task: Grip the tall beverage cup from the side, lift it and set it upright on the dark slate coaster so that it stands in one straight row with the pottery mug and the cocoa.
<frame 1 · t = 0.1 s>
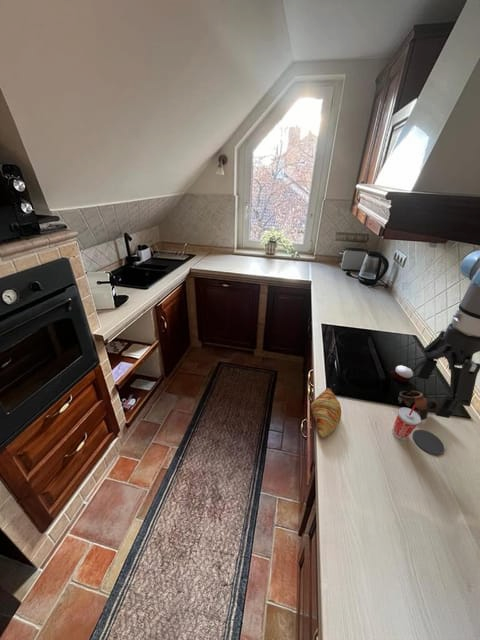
hand: (431, 395, 68), 23 cm above the worktop, tool pointing down, fingers open, 13 cm apart
beverage cup: (399, 433, 84), on the worktop
pottery mug: (414, 410, 92), on the worktop
slate coaster: (427, 442, 81), on the worktop
croissant: (324, 415, 89), on the worktop
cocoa: (401, 380, 105), on the worktop
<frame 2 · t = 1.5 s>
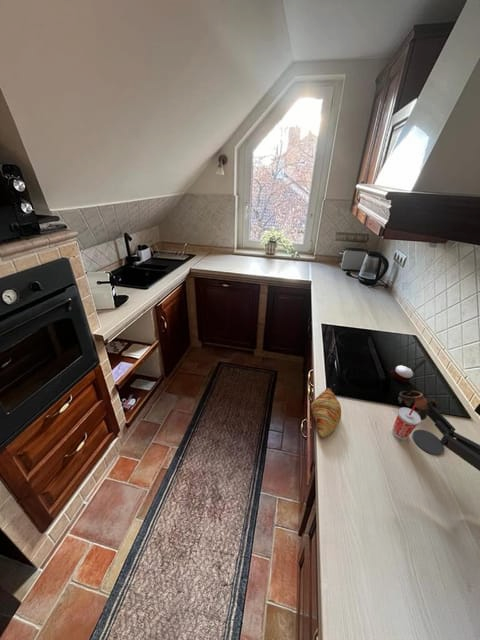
hand: (454, 408, 64), 23 cm above the worktop, tool horizontal, fingers open, 13 cm apart
nothing on the worktop moved.
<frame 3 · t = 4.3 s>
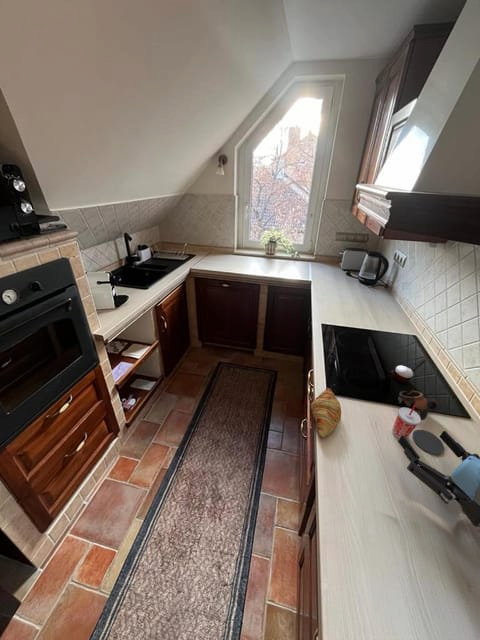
hand: (421, 435, 75), 7 cm above the worktop, tool horizontal, fingers open, 13 cm apart
nothing on the worktop moved.
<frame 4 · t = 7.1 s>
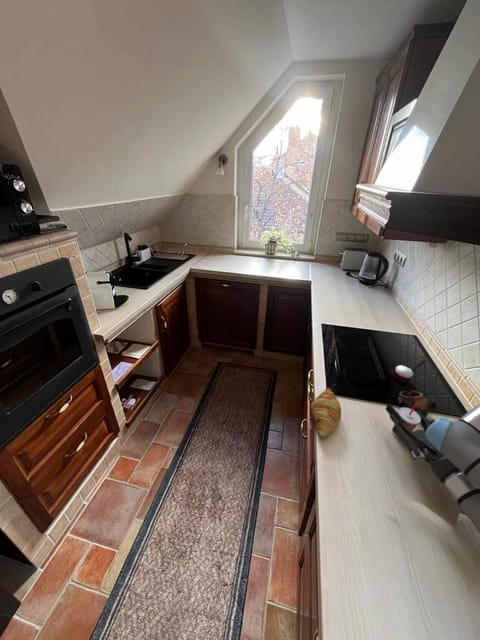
hand: (397, 405, 84), 7 cm above the worktop, tool horizontal, fingers closed on beverage cup, 6 cm apart
beverage cup: (399, 433, 84), on the worktop, touching gripper
everything else where it was.
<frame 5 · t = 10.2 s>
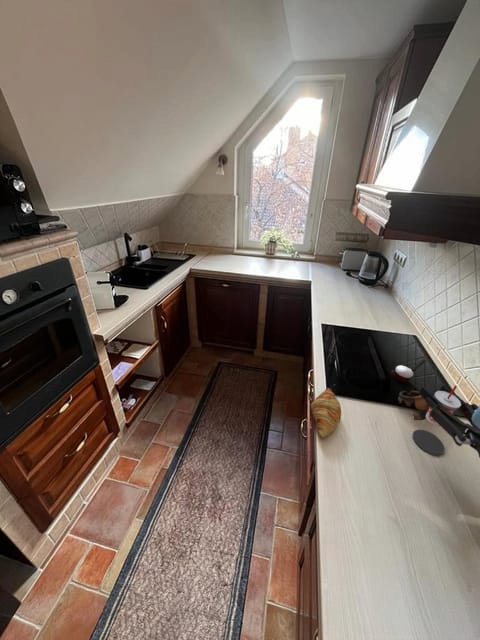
hand: (431, 389, 77), 17 cm above the worktop, tool horizontal, fingers closed on beverage cup, 6 cm apart
beverage cup: (434, 420, 77), point 10 cm above the worktop, touching gripper
everything else where it was.
when the fingers open (8 cm above the worktop, at t = 13.3 s): beverage cup stays where it is, resting on slate coaster.
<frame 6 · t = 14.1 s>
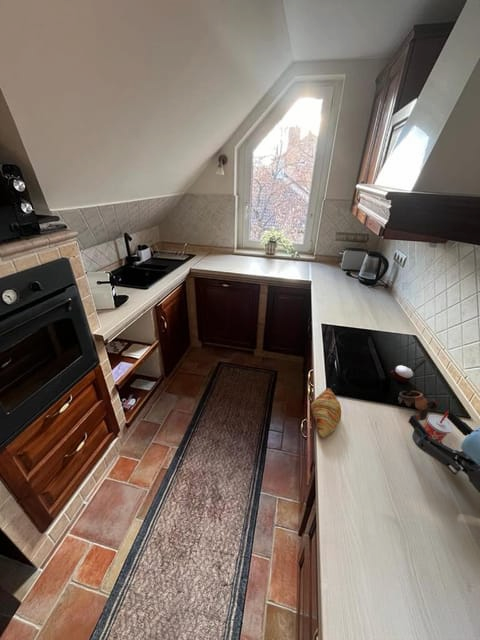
hand: (430, 416, 80), 8 cm above the worktop, tool horizontal, fingers open, 13 cm apart
beverage cup: (427, 441, 81), resting on slate coaster
everything else where it was.
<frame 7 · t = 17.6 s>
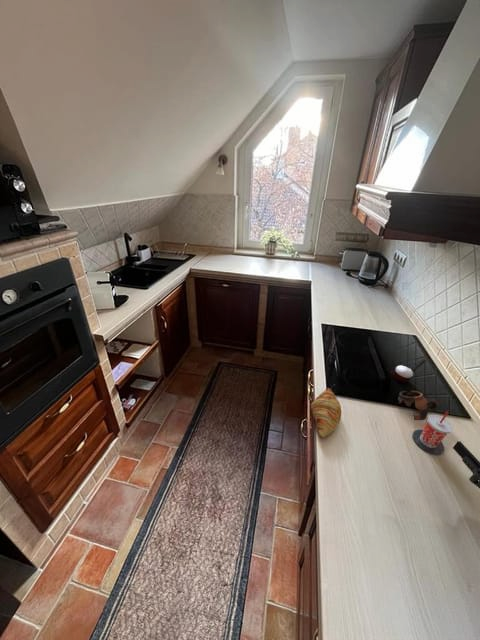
hand: (479, 441, 65), 15 cm above the worktop, tool horizontal, fingers open, 13 cm apart
nothing on the worktop moved.
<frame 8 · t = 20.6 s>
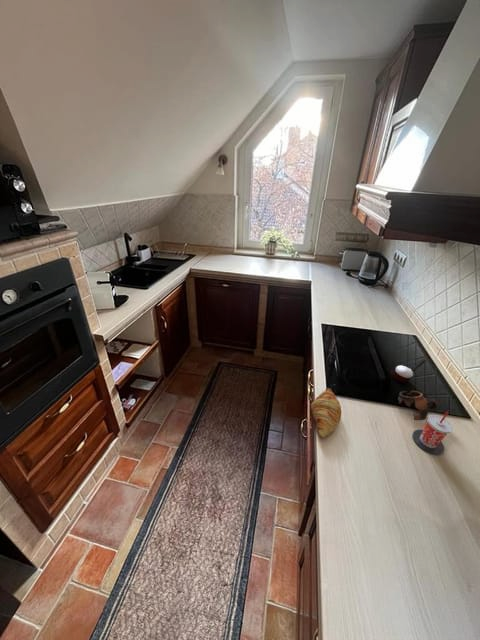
nothing on the worktop moved.
at the end: beverage cup 0.0 cm from the target spot, resting on slate coaster; beverage cup tilted 0°; pottery mug moved 0.2 cm from its start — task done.
